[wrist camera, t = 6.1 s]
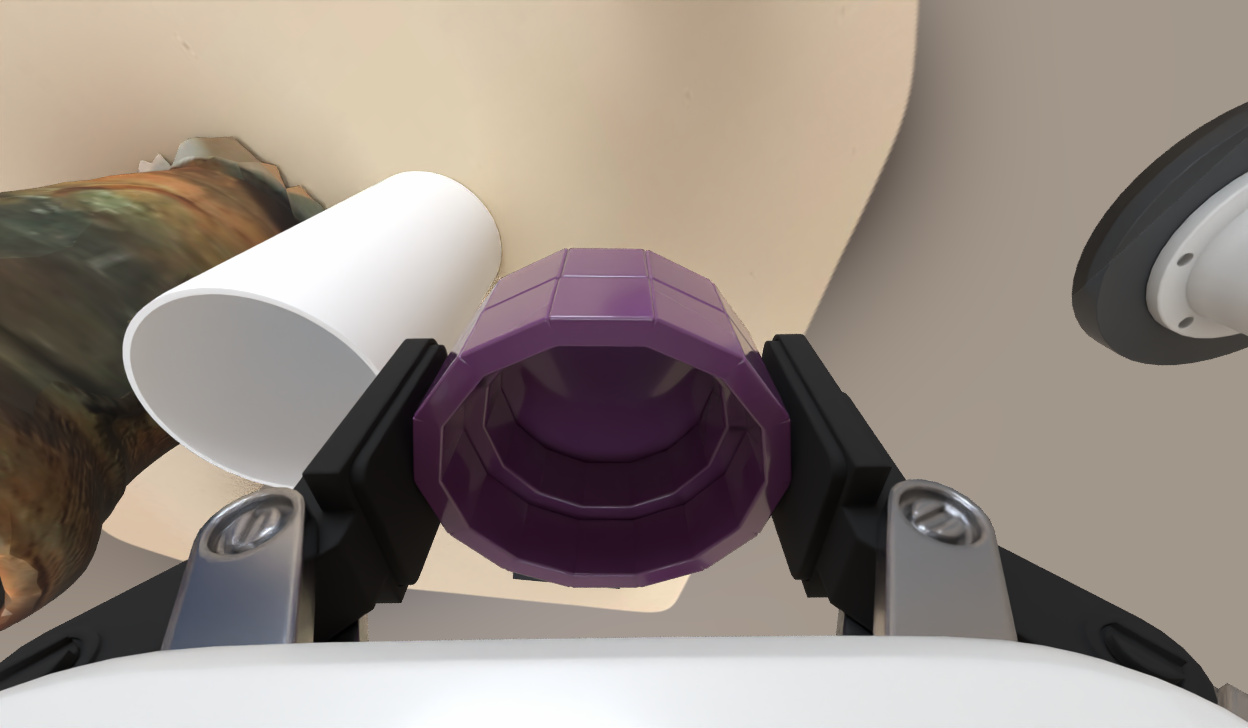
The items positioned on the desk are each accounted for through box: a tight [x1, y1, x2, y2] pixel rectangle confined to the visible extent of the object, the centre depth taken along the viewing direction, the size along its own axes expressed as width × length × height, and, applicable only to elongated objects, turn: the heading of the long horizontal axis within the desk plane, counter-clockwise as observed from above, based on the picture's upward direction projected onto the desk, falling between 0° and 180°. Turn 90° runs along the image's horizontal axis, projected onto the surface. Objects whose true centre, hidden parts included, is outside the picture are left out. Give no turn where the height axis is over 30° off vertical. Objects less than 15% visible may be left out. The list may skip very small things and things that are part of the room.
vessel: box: [0, 137, 325, 631], centre depth 20 cm, size 14×14×20 cm
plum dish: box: [413, 248, 792, 588], centre depth 10 cm, size 7×7×3 cm
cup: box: [123, 171, 502, 489], centre depth 22 cm, size 8×8×16 cm
